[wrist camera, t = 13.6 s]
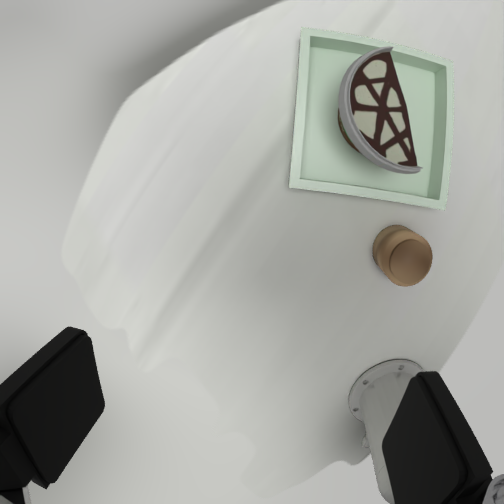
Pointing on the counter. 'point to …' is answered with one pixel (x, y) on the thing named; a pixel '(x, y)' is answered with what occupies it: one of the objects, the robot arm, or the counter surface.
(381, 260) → the salt cellar
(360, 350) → the counter surface
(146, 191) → the counter surface
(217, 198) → the counter surface
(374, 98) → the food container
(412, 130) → the bin
